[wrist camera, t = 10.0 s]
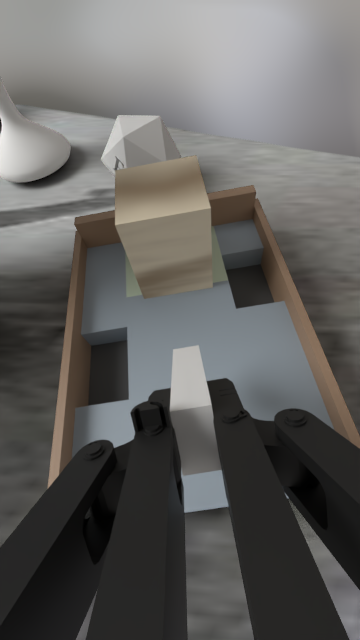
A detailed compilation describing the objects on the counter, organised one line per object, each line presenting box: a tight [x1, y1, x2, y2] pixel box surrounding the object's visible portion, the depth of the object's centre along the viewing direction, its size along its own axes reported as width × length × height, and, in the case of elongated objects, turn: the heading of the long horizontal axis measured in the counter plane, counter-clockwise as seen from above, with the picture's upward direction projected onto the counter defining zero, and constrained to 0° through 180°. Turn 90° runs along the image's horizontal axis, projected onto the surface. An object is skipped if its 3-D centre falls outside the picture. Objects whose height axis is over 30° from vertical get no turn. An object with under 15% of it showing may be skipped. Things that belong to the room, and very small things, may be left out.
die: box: [101, 115, 181, 177], centre depth 33 cm, size 8×9×10 cm
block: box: [115, 155, 213, 299], centre depth 22 cm, size 6×6×8 cm
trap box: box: [48, 185, 360, 513], centre depth 22 cm, size 24×18×6 cm
